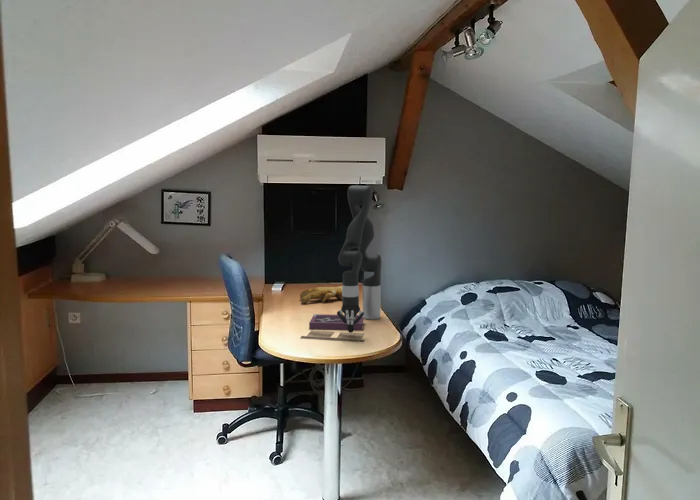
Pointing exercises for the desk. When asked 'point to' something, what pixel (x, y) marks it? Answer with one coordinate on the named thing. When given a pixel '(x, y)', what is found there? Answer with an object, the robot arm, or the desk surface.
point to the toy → (321, 293)
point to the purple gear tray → (332, 322)
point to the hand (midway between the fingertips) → (350, 331)
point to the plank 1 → (320, 333)
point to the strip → (332, 339)
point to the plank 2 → (350, 335)
